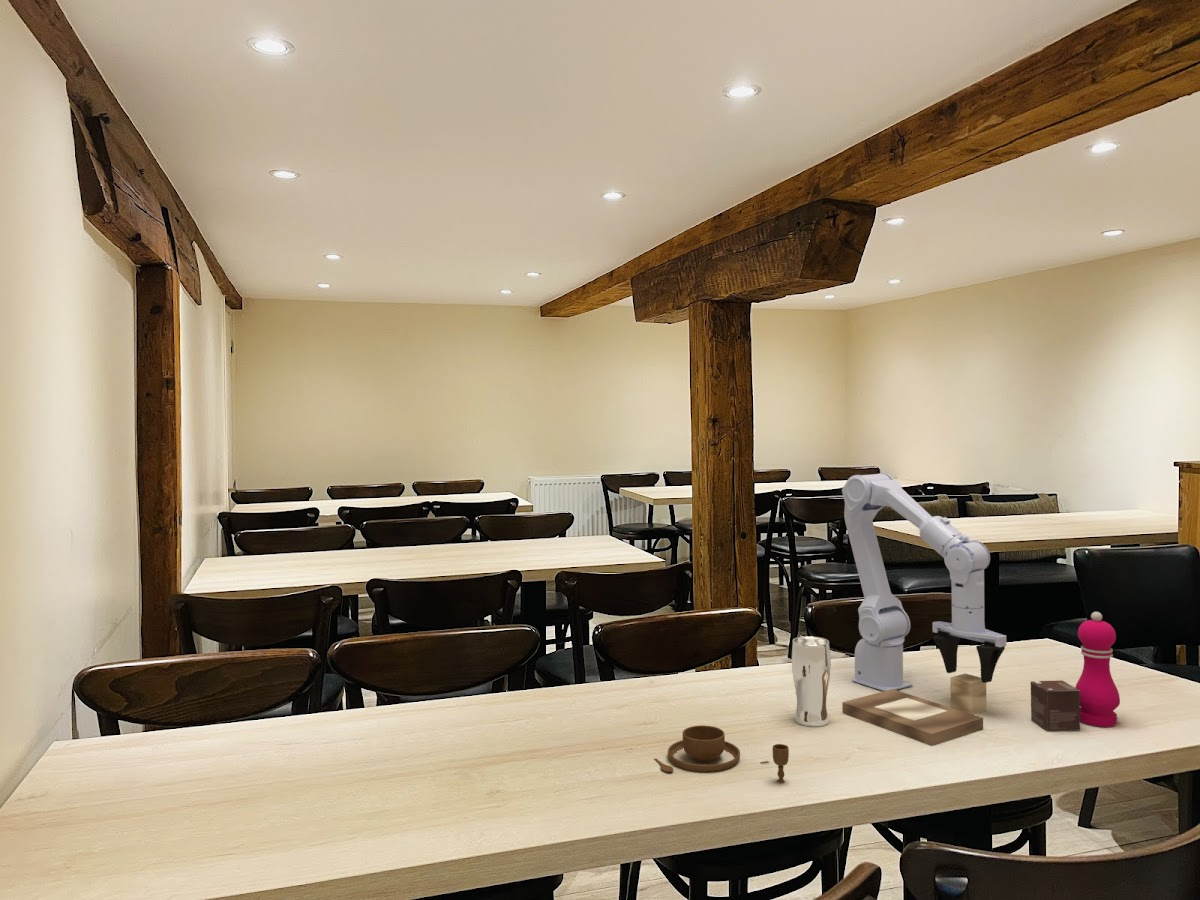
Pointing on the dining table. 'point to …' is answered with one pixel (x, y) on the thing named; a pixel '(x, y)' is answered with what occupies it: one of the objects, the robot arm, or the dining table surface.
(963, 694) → the maple block
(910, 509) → the robot arm
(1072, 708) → the box
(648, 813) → the dining table surface
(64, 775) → the dining table surface
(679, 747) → the place setting
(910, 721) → the walnut board
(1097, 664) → the pepper mill
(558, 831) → the dining table surface
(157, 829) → the dining table surface
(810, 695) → the beer glass
